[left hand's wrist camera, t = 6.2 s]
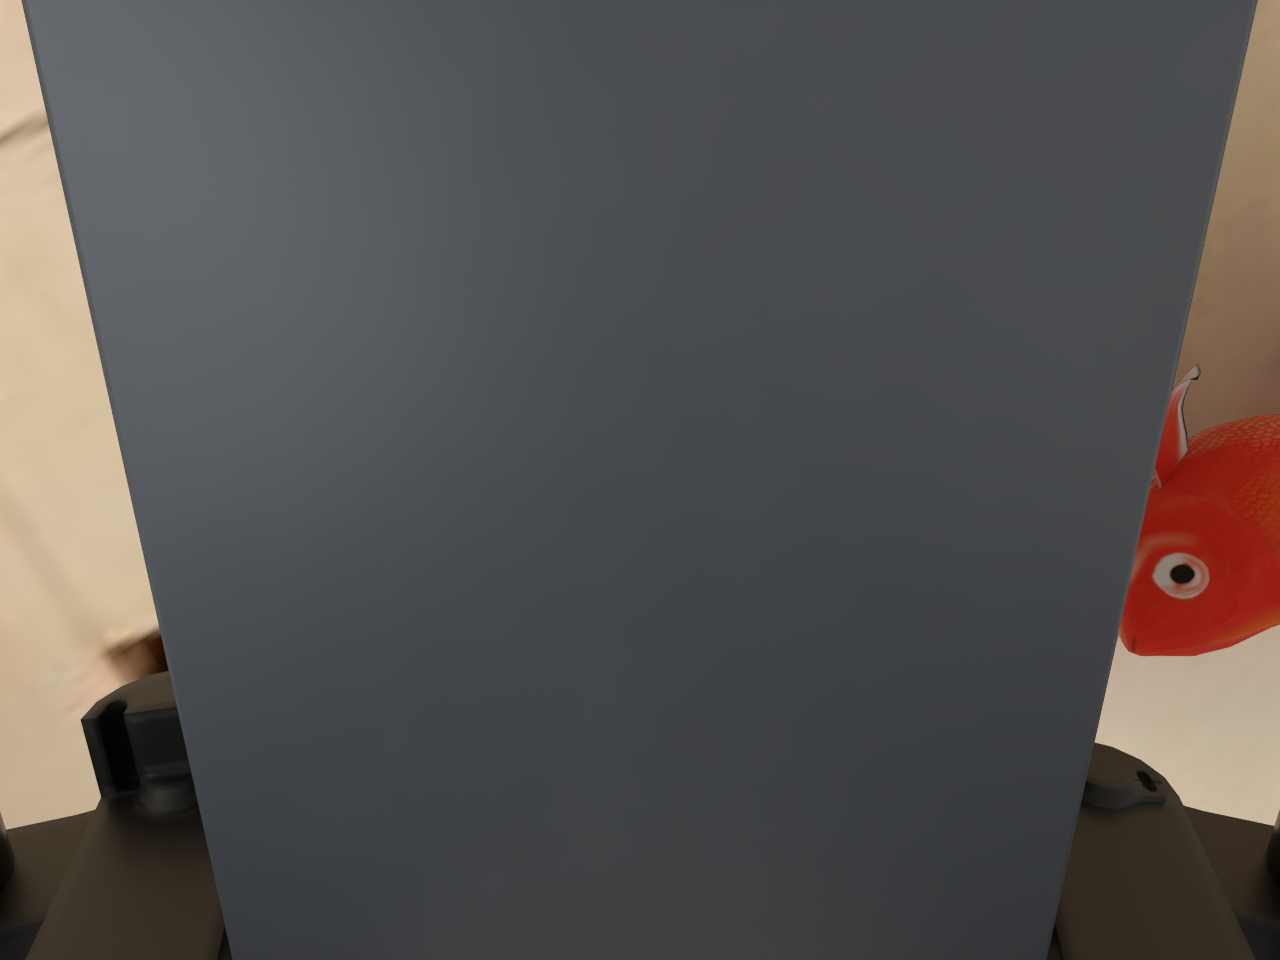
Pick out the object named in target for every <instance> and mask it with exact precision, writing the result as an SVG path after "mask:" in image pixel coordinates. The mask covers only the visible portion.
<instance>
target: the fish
mask: <svg viewBox="0 0 1280 960" xmlns="http://www.w3.org/2000/svg"><path fill="white" fill-rule="evenodd" d="M1200 374H1201V372H1200V369H1199V366H1198V364H1197V365H1196V366H1194V367H1193V368H1192V369H1191V370H1190V371H1189V372H1188V373H1187V374H1186V375H1185V376H1184V378H1183V379H1182V380H1181V381H1180V382H1179V383H1178V384H1177V385H1176V386H1175V387H1174V388H1173V389H1172V392H1171V396H1170V401H1169V405H1168V410H1167V414H1166V419H1165V423H1164V428H1163V433H1162V437H1161V442H1160V446H1159V451H1158V455H1157V460H1156V464H1155V469H1154V473H1153V478H1152V483H1151V487H1150V492H1149V496H1148V501H1147V505H1146V510H1145V514H1144V519H1143V524H1142V528H1141V533H1140V537H1139V542H1138V546H1137V551H1136V555H1135V560H1134V564H1133V569H1132V574H1131V578H1130V583H1129V587H1128V592H1127V596H1126V601H1125V605H1124V610H1123V615H1122V619H1121V624H1120V628H1119V633H1118V634H1119V636H1120V638H1121V640H1122V642H1123V644H1124V645H1125V647H1126V648H1127V650H1128V651H1129V652H1132V653H1134V654H1137V655H1140V656H1196V655H1200V654H1203V653H1207V652H1211V651H1215V650H1220V649H1224V648H1227V647H1231V646H1233V645H1235V644H1237V643H1239V642H1241V641H1243V640H1246V639H1248V638H1250V637H1252V636H1254V635H1256V634H1258V633H1260V632H1262V631H1264V630H1267V629H1269V628H1271V627H1273V626H1276V625H1279V624H1280V414H1273V415H1265V416H1257V417H1253V418H1248V419H1244V420H1239V421H1235V422H1230V423H1225V424H1221V425H1218V426H1215V427H1212V428H1209V429H1207V430H1205V431H1203V432H1201V433H1199V434H1197V435H1195V436H1193V437H1191V438H1189V439H1187V432H1186V427H1185V423H1184V417H1183V410H1182V407H1183V403H1184V398H1185V395H1186V393H1187V390H1188V387H1189V385H1190V383H1191V381H1192V380H1198V378H1199V376H1200Z"/></svg>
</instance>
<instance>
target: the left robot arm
mask: <svg viewBox="0 0 1280 960" xmlns="http://www.w3.org/2000/svg"><path fill="white" fill-rule="evenodd" d="M81 723H82V727H83V730H84V734H85V738H86V742H87V745H88V749H89V753H90V757H91V760H92V764H93V768H94V771H95V775H96V779H97V783H98V786H99V790H100V794H101V799H100V801H99V804H98V806H97V808H96V810H93V811H89V812H86V813H82V814H78V815H74V816H69V817H65V818H60V819H55V820H51V821H46V822H41V823H36V824H32V825H27V826H22V827H18V828H13V829H8V830H6V829H5V826H4V823H3V819H2V816H1V813H0V960H233V959H232V955H231V950H230V946H229V941H228V937H227V932H226V928H225V923H224V918H223V914H222V909H221V905H220V900H219V896H218V891H217V887H216V882H215V877H214V873H213V868H212V864H211V859H210V855H209V850H208V846H207V841H206V837H205V832H204V827H203V823H202V818H201V814H200V809H199V805H198V800H197V796H196V791H195V787H194V782H193V777H192V773H191V768H190V764H189V759H188V755H187V750H186V746H185V741H184V736H183V732H182V727H181V723H180V718H179V714H178V709H177V705H176V700H175V696H174V691H173V686H172V682H171V677H170V673H169V671H167V672H162V673H157V674H153V675H150V676H147V677H145V678H142V679H139V680H137V681H134V682H132V683H129V684H127V685H124V686H122V687H120V688H118V689H117V690H115V691H114V692H112V693H110V694H109V695H107V696H106V697H104V698H102V699H101V700H99V701H98V702H96V703H95V704H94V706H93V707H92V708H91V709H90V710H89V711H88V712H87V713H86V714H85V716H84V717H83V718H82V719H81ZM1047 960H1280V811H1279V814H1278V817H1277V820H1276V823H1275V826H1272V825H1267V824H1262V823H1257V822H1253V821H1248V820H1243V819H1238V818H1234V817H1229V816H1224V815H1219V814H1215V813H1210V812H1205V811H1201V810H1197V809H1194V808H1190V807H1187V806H1183V804H1182V802H1181V800H1180V798H1179V796H1178V795H1177V793H1176V792H1175V791H1174V789H1173V788H1172V787H1171V785H1170V784H1169V783H1168V781H1167V780H1166V779H1165V778H1164V777H1163V776H1162V775H1161V774H1159V773H1158V772H1157V771H1155V770H1154V769H1152V768H1151V767H1150V766H1148V765H1147V764H1146V763H1144V762H1143V761H1141V760H1140V759H1138V758H1135V757H1133V756H1131V755H1129V754H1127V753H1124V752H1122V751H1120V750H1118V749H1116V748H1113V747H1110V746H1106V745H1102V744H1098V743H1094V746H1093V751H1092V756H1091V760H1090V765H1089V769H1088V774H1087V778H1086V783H1085V787H1084V792H1083V797H1082V801H1081V806H1080V810H1079V815H1078V819H1077V824H1076V828H1075V833H1074V837H1073V842H1072V847H1071V851H1070V856H1069V860H1068V865H1067V869H1066V874H1065V878H1064V883H1063V888H1062V892H1061V897H1060V901H1059V906H1058V910H1057V915H1056V919H1055V924H1054V928H1053V933H1052V938H1051V942H1050V947H1049V951H1048V956H1047Z"/></svg>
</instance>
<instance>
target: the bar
mask: <svg viewBox="0 0 1280 960" xmlns="http://www.w3.org/2000/svg"><path fill="white" fill-rule="evenodd" d="M22 4H23V9H24V13H25V18H26V22H27V27H28V31H29V36H30V41H31V45H32V50H33V54H34V59H35V63H36V68H37V72H38V77H39V81H40V86H41V91H42V95H43V100H44V104H45V109H46V113H47V118H48V122H49V127H50V132H51V136H52V141H53V145H54V150H55V154H56V159H57V163H58V168H59V172H60V177H61V182H62V186H63V191H64V195H65V200H66V204H67V209H68V213H69V218H70V222H71V227H72V232H73V236H74V241H75V245H76V250H77V254H78V259H79V263H80V268H81V273H82V277H83V282H84V286H85V291H86V295H87V300H88V304H89V309H90V313H91V318H92V323H93V327H94V332H95V336H96V341H97V345H98V350H99V354H100V359H101V363H102V368H103V373H104V377H105V382H106V386H107V391H108V395H109V400H110V404H111V409H112V414H113V418H114V423H115V427H116V432H117V436H118V441H119V445H120V450H121V454H122V459H123V464H124V468H125V473H126V477H127V482H128V486H129V491H130V495H131V500H132V504H133V509H134V514H135V518H136V523H137V527H138V532H139V536H140V541H141V545H142V550H143V555H144V559H145V564H146V568H147V573H148V577H149V582H150V586H151V591H152V595H153V600H154V605H155V609H156V614H157V618H158V623H159V627H160V632H161V636H162V641H163V645H164V650H165V655H166V659H167V664H168V668H169V673H170V677H171V682H172V686H173V691H174V696H175V700H176V705H177V709H178V714H179V718H180V723H181V727H182V732H183V736H184V741H185V746H186V750H187V755H188V759H189V764H190V768H191V773H192V777H193V782H194V787H195V791H196V796H197V800H198V805H199V809H200V814H201V818H202V823H203V827H204V832H205V837H206V841H207V846H208V850H209V855H210V859H211V864H212V868H213V873H214V877H215V882H216V887H217V891H218V896H219V900H220V905H221V909H222V914H223V918H224V923H225V928H226V932H227V937H228V941H229V946H230V950H231V955H232V959H233V960H1047V956H1048V951H1049V947H1050V942H1051V938H1052V933H1053V928H1054V924H1055V919H1056V915H1057V910H1058V906H1059V901H1060V897H1061V892H1062V888H1063V883H1064V878H1065V874H1066V869H1067V865H1068V860H1069V856H1070V851H1071V847H1072V842H1073V837H1074V833H1075V828H1076V824H1077V819H1078V815H1079V810H1080V806H1081V801H1082V797H1083V792H1084V787H1085V783H1086V778H1087V774H1088V769H1089V765H1090V760H1091V756H1092V751H1093V746H1094V742H1095V737H1096V733H1097V728H1098V724H1099V719H1100V715H1101V710H1102V706H1103V701H1104V696H1105V692H1106V687H1107V683H1108V678H1109V674H1110V669H1111V665H1112V660H1113V655H1114V651H1115V646H1116V642H1117V637H1118V633H1119V628H1120V624H1121V619H1122V615H1123V610H1124V605H1125V601H1126V596H1127V592H1128V587H1129V583H1130V578H1131V574H1132V569H1133V564H1134V560H1135V555H1136V551H1137V546H1138V542H1139V537H1140V533H1141V528H1142V524H1143V519H1144V514H1145V510H1146V505H1147V501H1148V496H1149V492H1150V487H1151V483H1152V478H1153V473H1154V469H1155V464H1156V460H1157V455H1158V451H1159V446H1160V442H1161V437H1162V433H1163V428H1164V423H1165V419H1166V414H1167V410H1168V405H1169V401H1170V396H1171V392H1172V387H1173V382H1174V378H1175V373H1176V369H1177V364H1178V360H1179V355H1180V351H1181V346H1182V342H1183V337H1184V332H1185V328H1186V323H1187V319H1188V314H1189V310H1190V305H1191V301H1192V296H1193V291H1194V287H1195V282H1196V278H1197V273H1198V269H1199V264H1200V260H1201V255H1202V251H1203V246H1204V241H1205V237H1206V232H1207V228H1208V223H1209V219H1210V214H1211V210H1212V205H1213V200H1214V196H1215V191H1216V187H1217V182H1218V178H1219V173H1220V169H1221V164H1222V160H1223V155H1224V150H1225V146H1226V141H1227V137H1228V132H1229V128H1230V123H1231V119H1232V114H1233V109H1234V105H1235V100H1236V96H1237V91H1238V87H1239V82H1240V78H1241V73H1242V69H1243V64H1244V59H1245V55H1246V50H1247V46H1248V41H1249V37H1250V32H1251V28H1252V23H1253V18H1254V14H1255V9H1256V5H1257V0H22Z"/></svg>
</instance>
